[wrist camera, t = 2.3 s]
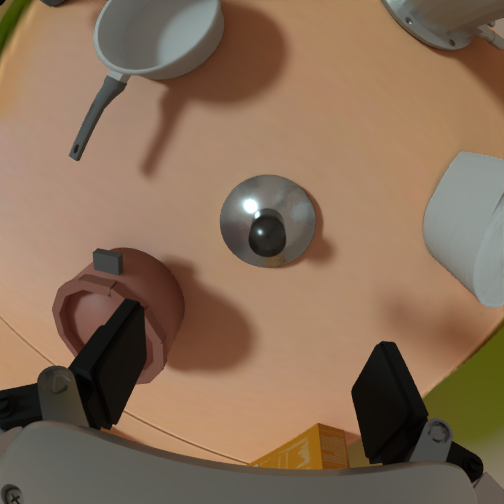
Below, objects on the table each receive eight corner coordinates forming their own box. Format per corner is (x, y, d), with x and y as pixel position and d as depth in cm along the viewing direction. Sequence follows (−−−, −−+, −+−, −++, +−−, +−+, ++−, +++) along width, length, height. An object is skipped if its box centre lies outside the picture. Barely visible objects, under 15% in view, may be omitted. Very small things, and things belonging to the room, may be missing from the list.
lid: (322, 184, 26) (335, 196, 21) (302, 269, 30) (308, 297, 24) (228, 167, 26) (218, 174, 21) (216, 254, 29) (205, 279, 24)
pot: (188, 243, 29) (161, 280, 21) (182, 359, 35) (166, 405, 28) (85, 224, 29) (41, 251, 21) (98, 335, 35) (71, 373, 28)
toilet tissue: (443, 280, 29) (486, 327, 20) (399, 206, 26) (452, 240, 17) (497, 226, 26) (547, 257, 16) (461, 146, 23) (524, 159, 13)
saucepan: (69, 131, 25) (37, 134, 20) (162, -20, 18) (143, -42, 13) (144, 178, 27) (117, 188, 21) (253, 13, 20) (249, -13, 14)
